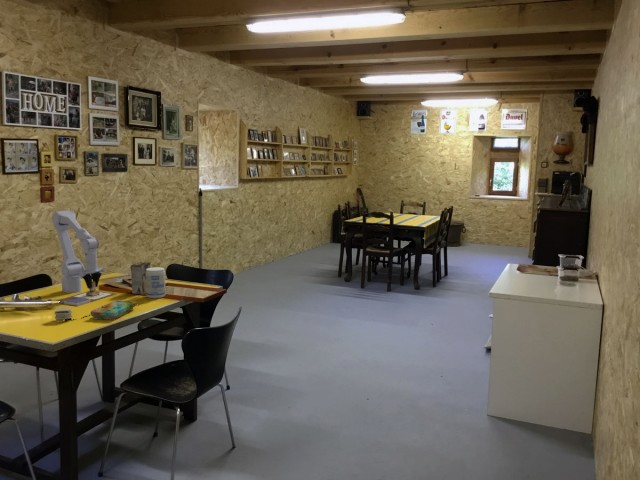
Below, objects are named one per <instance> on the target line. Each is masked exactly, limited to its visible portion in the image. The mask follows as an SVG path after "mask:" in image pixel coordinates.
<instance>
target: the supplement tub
mask: <svg viewBox="0 0 640 480" xmlns="http://www.w3.org/2000/svg"><path fill="white" fill-rule="evenodd" d="M145 296H146V298H149V299H160V298H163V297H165V296H166V271H165V267H162V266H161V267H160V266H159V267H156V266H155V267H150V268H147V269H146V293H145Z"/></svg>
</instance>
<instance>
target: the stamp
mask: <svg viewBox="0 0 640 480" xmlns="http://www.w3.org/2000/svg"><path fill="white" fill-rule="evenodd" d="M96 288H97V287H96V285H95V281H93V280H92V288H91V289H89V290H88V291H85V292H86V296H93V297H94V296H97V295H99V290H97V289H96Z"/></svg>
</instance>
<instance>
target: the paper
mask: <svg viewBox="0 0 640 480" xmlns="http://www.w3.org/2000/svg"><path fill="white" fill-rule="evenodd" d="M101 292H102V291H100V292H99V295H97V296H94V297H93V296H86V293H84V292H83V293H84V294H81V293H79V294H80V295H77V294H76V295H77V296H74V295H73V296H74V297H78V298H86V299H93V300H95V299H99V298H102V297H105V296H108V295H112V294H109V293H110V292H107V293H101Z"/></svg>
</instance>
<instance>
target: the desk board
mask: <svg viewBox="0 0 640 480" xmlns="http://www.w3.org/2000/svg"><path fill="white" fill-rule="evenodd" d="M98 291H99V290H98ZM86 292H87V291H85V292H81V293H77V294H74V295H70V296H68V297H64V298H59V299H57V300H55V301H60V302H59V303H55V304H56V305H57V304H58V305H63V306H68V307H70V306H71V307H77V308H78V307H80V306H83V305H87V304H90V303H93V302H96V301H100V300H103V299H106V298H109V297H112V296H116V295H117V293H114V292H105V291H99V292H101V293H109V294H112V295H108V296H105V297H102V298H99V299H95V300H93V299H90V300H91V302H89V303H86V304H82V305H79V306H75V305H68V304H64V301H66V300H70V299H73V298H78V297H74V296H77V295H80V294H84V293H86ZM84 299H86V298H84Z"/></svg>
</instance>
